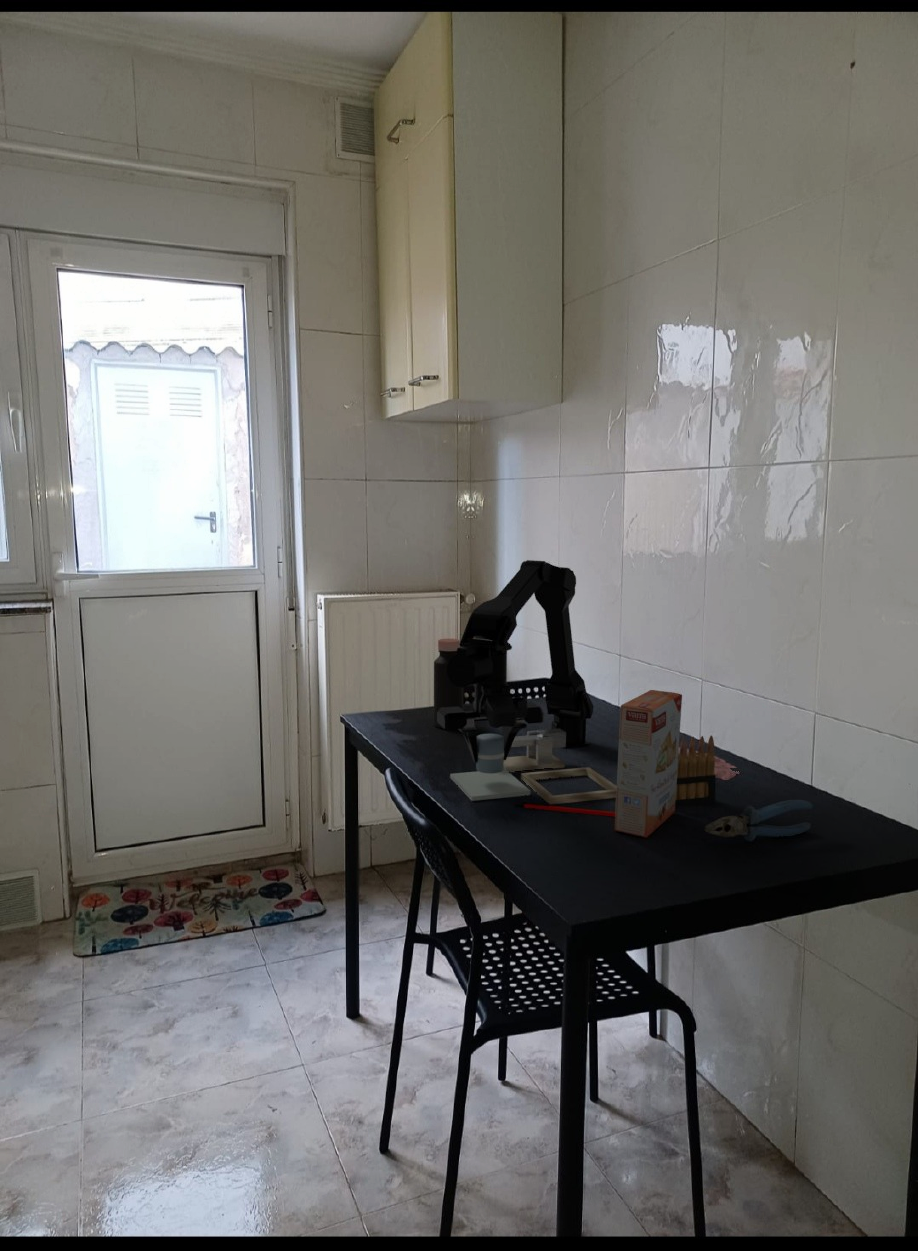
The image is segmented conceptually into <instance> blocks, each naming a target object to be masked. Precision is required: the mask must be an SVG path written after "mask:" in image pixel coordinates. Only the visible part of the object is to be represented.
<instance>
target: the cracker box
mask: <svg viewBox="0 0 918 1251" xmlns="http://www.w3.org/2000/svg"><path fill="white" fill-rule="evenodd" d="M682 704H683V694H682V693H679V692H672V691H664V690H657V689H656V690H655V689H650V690H648V691H646V692H644V693H641V695H638V696H636V697H634V698H633V699H630V700H628V701H626V702H624V703H623V704H621V705H620V710H619V711H620V712H619V732H618V750H617V751H618V752H617V773H616V786H617V790H616V798H615V811H614V812H615V817H614V831H616V832H619V833H623V834H626V835H627V834H628V835H633V836H636V837H640V836H641V838H646V839H647V838H648V837H649V836H651V834H652V833H654V832H655V830H657V829H658V828H659V827H660V826H661V825H662V824H663V823H665V822H666V821H667V820H668V819H669V818H670V817H671V816H672V815H673V814H674V813H676V807H675V801H676V785H677V769H678V760H679V759H678V753H679V747H680V736H681V734H680V733H681V721H682V720H681V717H682Z"/></svg>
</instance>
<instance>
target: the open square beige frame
mask: <svg viewBox="0 0 918 1251" xmlns="http://www.w3.org/2000/svg"><path fill="white" fill-rule="evenodd" d="M571 776H572V777H580V776H587V777H588V778H590V779H591V780H592V781H594V782H595V783H596V784H598V785H599V786H600V787H602V788H604V790H595V791H594V790H593V791H585V792H575V793H564V794H556V795H554V794H553V793H552V792H550V791H549V790H547V789H546V788H545V787H543V786H542V784H540V783H539V782H537V780H538V781H539V779H540V780H549V778H551V779H560V778H559V777H561V778H569V777H571ZM520 780H521V781H522V780H523V781H524V782H525V783H526V784H525V785H527V786H528V785H529V786H530V787H531V788H532V789H533V790H532V789H531V788H530V787H529V786H528V787H529V788H530V789H531V790H532V791H533V792H535V793H536V792H537V793H536V794H537V795H538V796H539V797H541V798H542V799H543V800H544V801H545V802H546V803H548V804H549V805H550V806H552V805H558V804H571V803H577V802H587V801H597V800H607V799H608V800H609V799H616V790H617V784H614V782H611V781H610V780H609V779H607V778H606V777H604V776H603V775H602V774H599V773H598V772H597V771H595V770H594V769H593V768H591V767H589V766H588V767H587V766H585V767H577V768H576V767H575V768H574V767H573V768H565V769H563V768H562V769H554V770H552V769H551V770H540V771H533V772H532V771H530V772H523V773H521V772H520ZM523 781H522V782H523ZM524 782H523V783H524Z"/></svg>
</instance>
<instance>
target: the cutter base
mask: <svg viewBox="0 0 918 1251" xmlns="http://www.w3.org/2000/svg"><path fill="white" fill-rule="evenodd" d="M526 735H537V730H527V731H526ZM552 746H553V738H552V737H542V738H536V745H531V746H526V755H517V756H507V759H506V760H504V769H506V770H507V771H508V772H510V773H516V772H515V771H521V772H523V771H522V770H532V771H535V770H534V769H543V770H545V769H544V768H553V769H563V768H565V766H566V764H565V762H563V761H562V760H560V758H558V757H557V756H555V755H554V754H553V748H552Z"/></svg>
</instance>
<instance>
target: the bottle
mask: <svg viewBox="0 0 918 1251" xmlns="http://www.w3.org/2000/svg"><path fill="white" fill-rule="evenodd" d="M460 642H461V640H460V639H457V638H439V639H438V640H437V650H438V653H439V655H438V656H437V657H436V659H434V662H433V725H434V726H435V727H437V728H439V729H444V728H443V727H442V726H441V725H440V724H439V723H438V722H437V712H438V710H439V709H440V708H442V707H457V706H458V707H460V708H461V709H462V710H463V711H464V687H463V688H461V687H458V686H456V685H454V684H453V683H452V682H451V681H450V679H449V677H448V674H447V666H448V663H449V661H450V659H451V658H452V657H453V656H455V655H457V648H459V647H460Z"/></svg>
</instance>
